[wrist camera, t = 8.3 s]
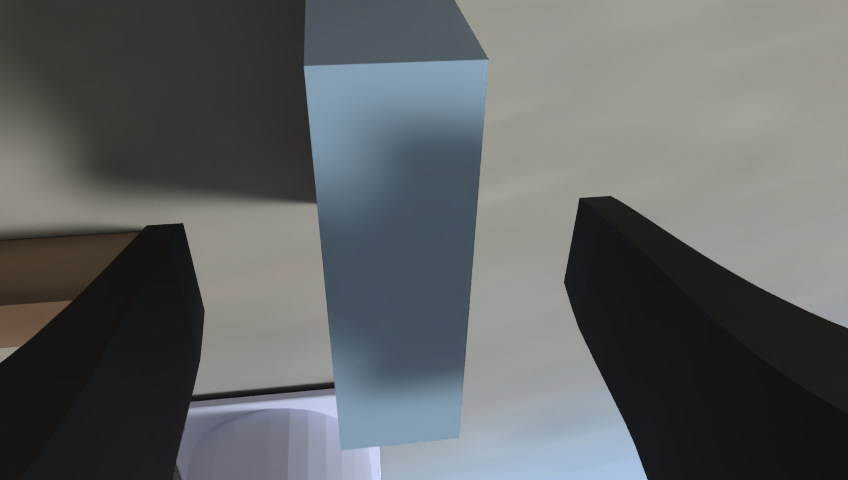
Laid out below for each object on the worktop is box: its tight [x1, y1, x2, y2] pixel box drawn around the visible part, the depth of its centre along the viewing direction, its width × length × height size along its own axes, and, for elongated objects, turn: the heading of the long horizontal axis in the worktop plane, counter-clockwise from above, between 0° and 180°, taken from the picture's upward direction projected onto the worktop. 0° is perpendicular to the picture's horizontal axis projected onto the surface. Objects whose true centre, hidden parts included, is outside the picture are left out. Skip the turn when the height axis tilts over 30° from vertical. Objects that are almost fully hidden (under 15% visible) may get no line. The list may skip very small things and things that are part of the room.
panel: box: [304, 0, 489, 450], centre depth 14 cm, size 8×2×9 cm, turn 179°
